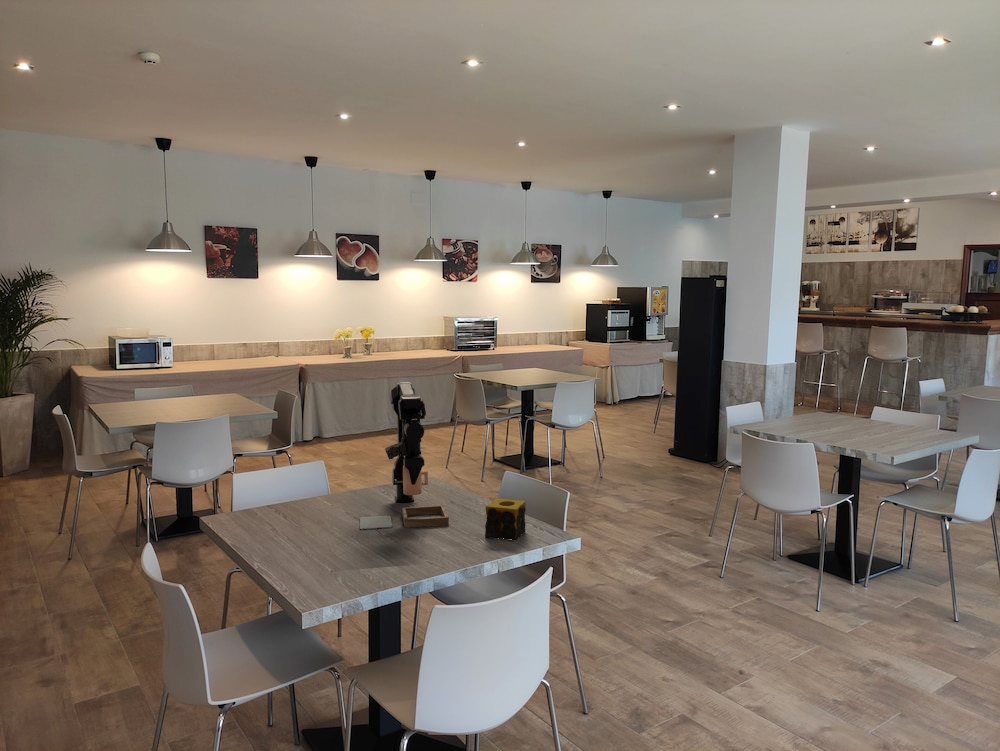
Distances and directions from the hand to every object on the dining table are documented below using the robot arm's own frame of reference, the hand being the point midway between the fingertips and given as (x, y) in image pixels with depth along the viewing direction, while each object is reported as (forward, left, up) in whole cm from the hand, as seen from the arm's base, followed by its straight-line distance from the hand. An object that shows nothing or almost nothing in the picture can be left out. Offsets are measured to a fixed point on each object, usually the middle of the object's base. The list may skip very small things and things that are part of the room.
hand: (412, 482), depth 235 cm
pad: (0, -12, -13) cm, 18 cm away
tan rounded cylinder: (0, 0, -4) cm, 4 cm away
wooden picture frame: (0, +4, -13) cm, 13 cm away
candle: (+20, +27, -13) cm, 36 cm away
